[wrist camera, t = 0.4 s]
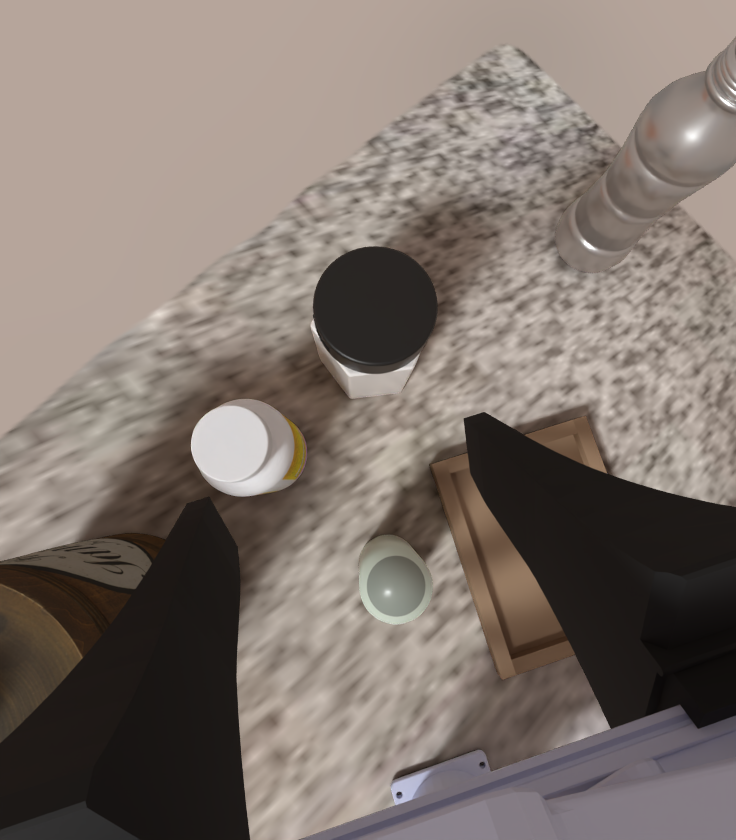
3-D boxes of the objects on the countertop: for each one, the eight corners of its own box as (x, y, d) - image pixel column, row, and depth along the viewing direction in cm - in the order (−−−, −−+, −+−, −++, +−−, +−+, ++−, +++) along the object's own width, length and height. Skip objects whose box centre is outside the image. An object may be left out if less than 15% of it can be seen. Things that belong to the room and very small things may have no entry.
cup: (425, 584, 40) (442, 610, 32) (368, 603, 39) (372, 634, 31) (406, 526, 40) (419, 538, 32) (351, 544, 40) (350, 561, 32)
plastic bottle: (586, 295, 43) (781, 139, 23) (531, 246, 44) (678, 54, 24) (630, 248, 44) (856, 58, 24) (576, 200, 44) (754, -23, 25)
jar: (347, 292, 43) (344, 220, 31) (429, 326, 43) (458, 267, 31) (307, 381, 42) (288, 342, 30) (392, 416, 41) (407, 391, 30)
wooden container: (184, 505, 40) (-21, 537, 18) (242, 676, 38) (94, 935, 17) (13, 571, 39) (-422, 689, 17) (66, 749, 37) (-340, 1128, 16)
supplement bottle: (285, 402, 41) (254, 368, 29) (321, 468, 41) (306, 463, 28) (217, 440, 41) (154, 422, 28) (253, 506, 40) (206, 520, 27)
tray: (651, 618, 40) (662, 624, 38) (496, 672, 39) (502, 679, 37) (577, 417, 42) (585, 415, 40) (429, 464, 41) (431, 464, 39)
